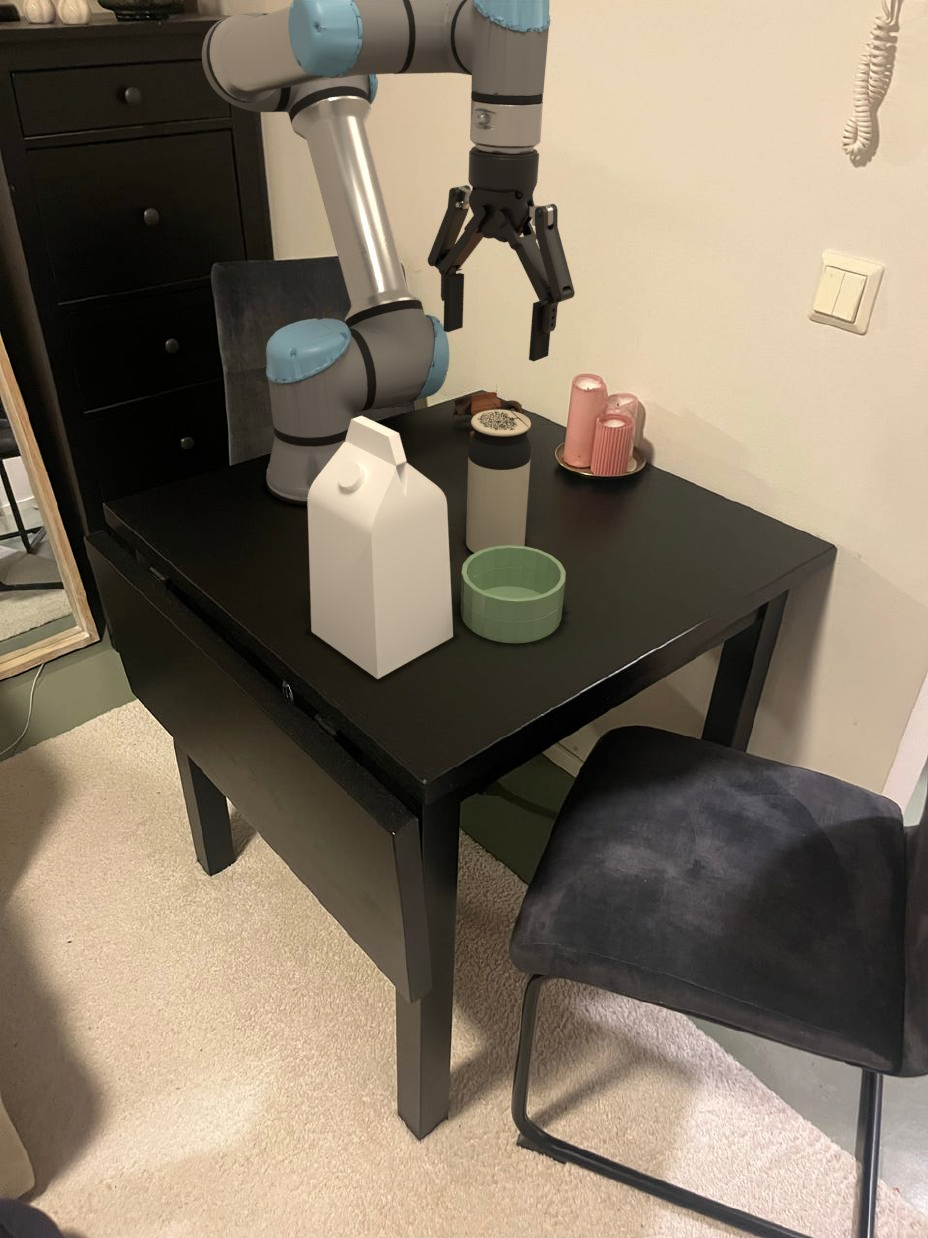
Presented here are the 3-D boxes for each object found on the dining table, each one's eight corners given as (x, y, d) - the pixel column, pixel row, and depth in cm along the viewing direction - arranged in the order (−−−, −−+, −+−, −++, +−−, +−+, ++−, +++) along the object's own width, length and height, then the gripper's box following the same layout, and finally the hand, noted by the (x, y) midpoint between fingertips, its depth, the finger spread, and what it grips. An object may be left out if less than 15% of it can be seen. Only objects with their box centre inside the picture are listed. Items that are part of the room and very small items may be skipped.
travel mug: (473, 563, 119) (478, 436, 108) (459, 533, 125) (462, 410, 115) (531, 557, 120) (541, 431, 110) (514, 527, 127) (522, 406, 116)
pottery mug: (455, 449, 148) (445, 399, 147) (463, 451, 158) (454, 404, 157) (526, 434, 147) (517, 383, 146) (530, 437, 156) (521, 389, 155)
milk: (453, 636, 105) (457, 428, 90) (377, 679, 99) (368, 462, 84) (386, 594, 112) (379, 394, 97) (311, 631, 106) (292, 423, 90)
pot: (440, 613, 109) (440, 572, 106) (505, 575, 117) (507, 534, 113) (517, 656, 103) (520, 613, 99) (581, 612, 110) (586, 571, 107)
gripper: (397, 134, 100) (399, 324, 113) (577, 168, 87) (557, 379, 100) (443, 128, 105) (440, 312, 118) (621, 159, 92) (597, 362, 104)
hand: (494, 343), depth 109 cm, fingers open, 13 cm apart
